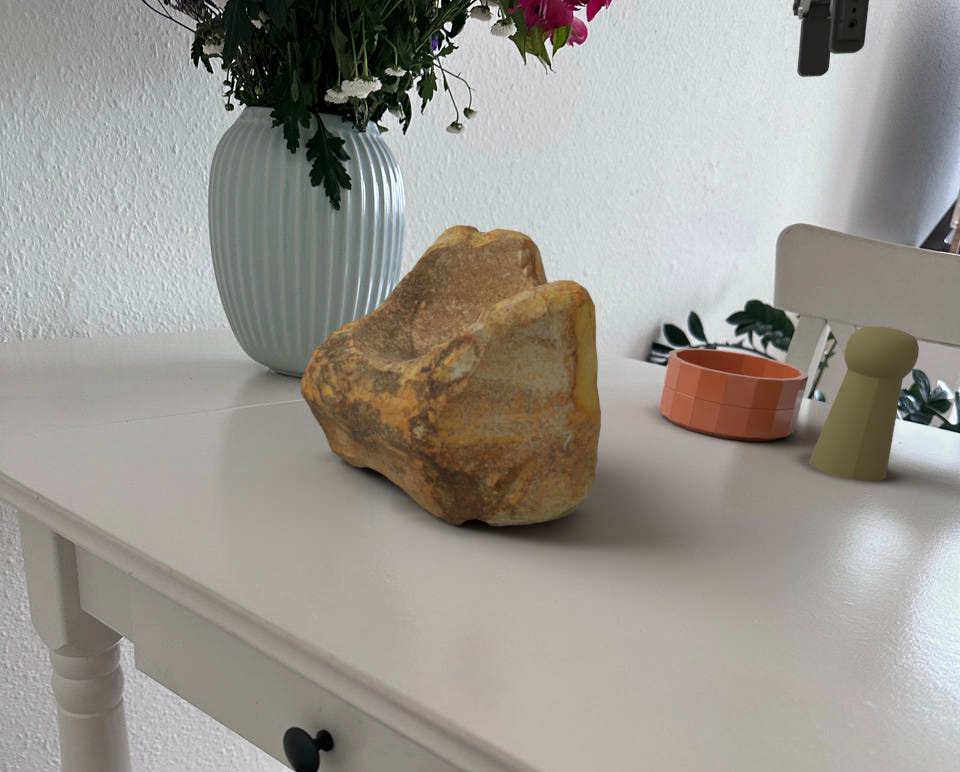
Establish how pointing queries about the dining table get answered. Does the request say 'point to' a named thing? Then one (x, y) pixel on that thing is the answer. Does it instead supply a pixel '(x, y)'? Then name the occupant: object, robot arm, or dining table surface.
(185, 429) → the dining table surface
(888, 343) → the cork
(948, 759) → the dining table surface
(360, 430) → the rough brown rock
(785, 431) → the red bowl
